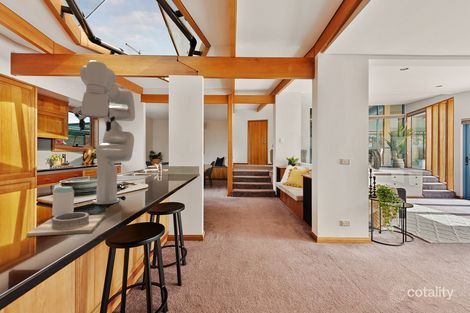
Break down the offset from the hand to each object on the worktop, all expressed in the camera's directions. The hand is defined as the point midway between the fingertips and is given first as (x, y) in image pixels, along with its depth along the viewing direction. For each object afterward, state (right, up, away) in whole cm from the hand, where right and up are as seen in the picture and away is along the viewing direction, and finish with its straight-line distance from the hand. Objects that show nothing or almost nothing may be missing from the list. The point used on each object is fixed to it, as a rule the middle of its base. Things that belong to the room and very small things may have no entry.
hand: (95, 130), depth 97 cm
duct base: (0, -37, -15) cm, 40 cm away
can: (-12, -37, -3) cm, 39 cm away
